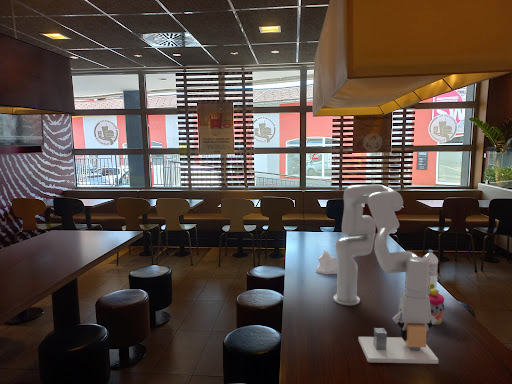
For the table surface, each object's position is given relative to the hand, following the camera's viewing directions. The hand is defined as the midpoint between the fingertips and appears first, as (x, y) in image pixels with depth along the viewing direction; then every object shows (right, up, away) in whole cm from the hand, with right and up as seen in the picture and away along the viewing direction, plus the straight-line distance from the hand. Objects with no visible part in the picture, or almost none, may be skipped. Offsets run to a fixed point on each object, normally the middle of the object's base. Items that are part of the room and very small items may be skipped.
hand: (413, 338), depth 128 cm
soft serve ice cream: (-14, +5, +84) cm, 85 cm away
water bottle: (+27, 0, +44) cm, 52 cm away
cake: (+18, -2, +25) cm, 31 cm away
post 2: (0, -5, +1) cm, 5 cm away
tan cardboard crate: (0, -1, 0) cm, 1 cm away
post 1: (-12, -5, +1) cm, 13 cm away
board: (-6, -5, +1) cm, 8 cm away
